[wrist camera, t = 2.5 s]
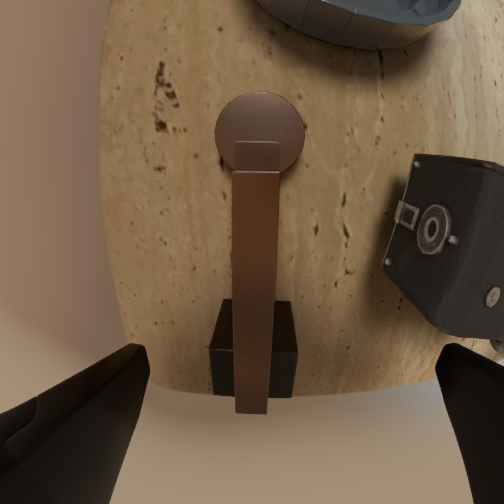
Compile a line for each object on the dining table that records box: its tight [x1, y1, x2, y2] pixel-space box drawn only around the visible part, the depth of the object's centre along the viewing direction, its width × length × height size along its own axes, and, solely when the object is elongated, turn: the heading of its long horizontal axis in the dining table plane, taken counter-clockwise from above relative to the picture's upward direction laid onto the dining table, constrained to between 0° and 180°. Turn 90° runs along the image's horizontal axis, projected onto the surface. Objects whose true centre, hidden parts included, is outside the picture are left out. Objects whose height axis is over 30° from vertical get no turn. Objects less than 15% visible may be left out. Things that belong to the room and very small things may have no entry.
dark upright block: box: [209, 299, 298, 398], centre depth 19 cm, size 4×5×6 cm
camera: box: [381, 153, 504, 356], centre depth 13 cm, size 11×11×15 cm
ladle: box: [215, 92, 305, 414], centre depth 15 cm, size 18×5×8 cm, turn 179°
